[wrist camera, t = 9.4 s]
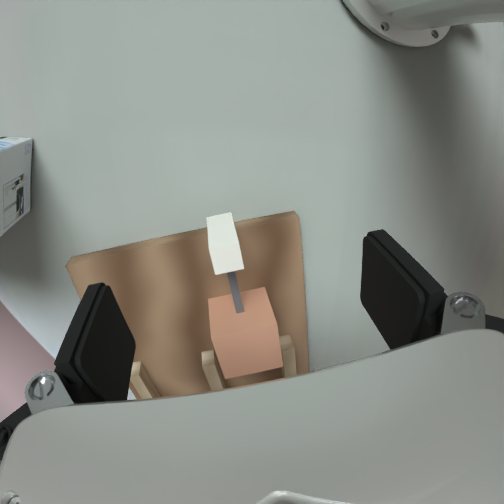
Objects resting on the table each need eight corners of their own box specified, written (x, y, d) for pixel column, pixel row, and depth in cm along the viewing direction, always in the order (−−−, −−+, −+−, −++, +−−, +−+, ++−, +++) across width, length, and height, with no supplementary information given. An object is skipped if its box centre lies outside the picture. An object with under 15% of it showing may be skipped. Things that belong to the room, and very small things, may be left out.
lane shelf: (294, 210, 27) (306, 226, 24) (305, 380, 37) (313, 401, 34) (71, 257, 25) (57, 278, 22) (149, 407, 36) (148, 429, 33)
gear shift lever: (250, 204, 24) (265, 237, 19) (271, 329, 30) (286, 375, 25) (185, 218, 24) (182, 255, 19) (220, 340, 30) (226, 388, 25)
